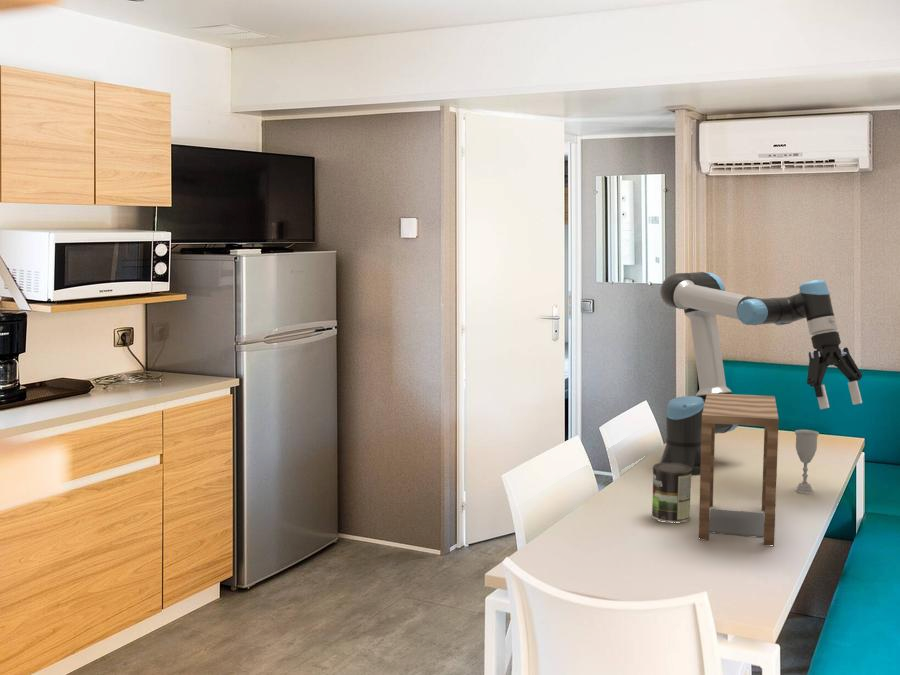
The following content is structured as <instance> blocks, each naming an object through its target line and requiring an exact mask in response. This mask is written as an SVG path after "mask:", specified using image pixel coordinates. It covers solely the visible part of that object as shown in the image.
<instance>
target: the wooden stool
mask: <svg viewBox="0 0 900 675" xmlns="http://www.w3.org/2000/svg"><path fill="white" fill-rule="evenodd" d="M779 420H780V419H779V414H778V408H777V402H776V397H775V395H756V394H733V393H732V394H715V393H707V396H706V400H705V404H704V408H703V412H702V428H701V466H700V474H699V477H700V478H699V479H700V480H699V505H698V506H699V507H698V508H699V514H698V515H699V516H698V539H699V538H700V539H699V540H701V539H710V538H709V537H710V533H709V518H710V510H711V507H714V482H715V481H714V476H715V441H716V440H715V438H716V437H715V436H716V434H715V424H732V425H738V426H752V427H753V426H754V427H764V430H763V458H762V460H763V461H762V488H761V489H762V490H761V491H762V492H761V494H762V495H761V511H763V512H764V538H763V546H764V545H773V546H772V547H775V535H776V534H775V531H776V529H775V528H776V507H777V506H776V504H777V503H776V501H777V500H776V499H777V474H778V473H777V472H778V469H777V468H778V449H779Z"/></svg>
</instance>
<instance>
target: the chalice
mask: <svg viewBox="0 0 900 675" xmlns="http://www.w3.org/2000/svg"><path fill="white" fill-rule="evenodd" d="M794 434H795V436H796V437H795V450H796V453H797V455H798V458H799V460H800V462H801V463H803V468H802V472H803V473H802V474H801V476H802V477H803V480H802V482H799V483H798V484H797V487H796V489H795V492H796V491H797V492H796V493H798V492H799V493H798V494H803V493H805V494H806V495H810V493H812V494H814V493H813V492H814V490H813V487H812V485H811V484H810V483H809V482H808V479H807V478H808V477H809V475H808V470H809V469H808V464H809V463H811V462H812V460H813V458H814V457H815V455H816V452H817V449H818V448H817V447H818V437H819V434H820V433H819V431H815V430H812V429H811V430H810V429H797V430H794ZM805 494H804V495H805Z"/></svg>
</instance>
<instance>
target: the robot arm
mask: <svg viewBox="0 0 900 675" xmlns="http://www.w3.org/2000/svg"><path fill="white" fill-rule="evenodd" d="M798 288H799V292H798V293H796V294H792V295H790V296H787V297H786V296H785V297H771V298H770V297H768V298H759V297H755V296H754V297H753V296H749V295H745V294H739V293H736V292H730V291H726V288H725V285H724V282H723V280H722V279H721V278H720V277H719V276H718V275H716V274H715V273H713V272H704V271H699V272H677V273H673V274H671V275H669V276H668V277H666V278H665V279H664V280H663V281H662V284H661V286H660V292H659V293H660V298H661V300H662V301H663V302H664V304H666V305H667V306H669V307H670V308H675V309H678V310H683V313H684V315H685V316H686V317H687V318H688V319H689V320H690V328H691V335H692V343H693V350H694V359H695V365H696V371H697V372H696V373H697V379H698V380H697V382H698V386H699V387H698V388H699V390H698V391H697V393H695V395H688V396H684V395H683V396H679V397H675V398H673V399H670V400H669V401H668V403H667V407H666V412H665V413H666V414H665V415H666V425H665V426H666V429H665V430H666V435H665V448H664V449H663V452H662V456H661V458H660V462H659V463H680V464H685V465H688V466H690V467H691V468H692V472H691V476H692V475H700V466H701V428H702V412H703V408H704V404H705V400H706V396H707V393H715V394H733V392H732V390H731V389H730V388H729V387H727V383H726V375H725V369H724V362H723V355H722V354H723V353H722V348H721V340H720V334H719V325H718V318H717V316H722V317H726V318H731V319H733V320H739V321H740V322H741V323H742V324H743V325H746V326H759V325H771V324H775V325H777V326H784V325H790V324H792V323H794V322H796V321H800V320H803V319H806V323H807V327H808V332H809V335H811V338H810V339H811V344H812V347H813V349H814V350H812V351H809V352H808V359H809V360H808V361H809V362H808V370H807V377H806V384H807V385H809V386H810V387H811V388H812V387H813V389H814V392H815V393H814V394H815V397H816V398H817V401H818V403H817V404H818V406H819V410H824V409H828V408H830V404H829V403H830V402H829V399H828V395H827V391H826V386H825V384H823V381H824V377H825V375H826V373H827V368H828V367H829V366H834V367H837V369H838V370H839V371H840V372H841V373H842V374H843V375H844V376H845V378H846V379H847V380H848V382H847V385H848V390H849V393H850V394H849V395H850V398H851V402H852V403H851V404H852V405H859V404H863V400H862V395H861V388H860V384H859V381H861V380H862V378H863V374H862V372H861V371H860V369H859V367H858V366H857V364H856V362H855V360H854V359H853V356H852V355H851V353H850V351H849V348H848V347H842V348H840V344H841V343H842V342H841V338H840V332H838V331H837V330H838V325H837V321H836V317H835V314H834V309H833V305H832V304H833V303H832V298H831V294H830V290H829V288H828V284H827V282H826V281H825V280H823V279H814V280H810V281H806V282H804V283H801V284H799V287H798ZM738 426H739V425H732V424H715V435H717V434H726V433H729V432H731V431H732V432H733V431H734V430H735V429H736V428H738Z"/></svg>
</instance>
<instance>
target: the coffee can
mask: <svg viewBox="0 0 900 675" xmlns="http://www.w3.org/2000/svg"><path fill="white" fill-rule="evenodd" d="M691 472H692V468H691V467H690V466H688V465H685V464H680V463H660V462H658V463H655V464H654V465H652V503H651V504H652V508H651V512H652V513H651V518H652V517H653V518H652V519H654V520H655V519H657V520H660V521H659V522H661V521H665V522H673V523H672V524H677V523H676V522H684V523H687V522H689V521H690V519H691V495H692V494H691V491H692V490H691V488H692V475H691ZM657 520H656V521H657ZM688 520H689V521H688ZM686 521H687V522H686ZM665 522H664V523H665ZM674 522H675V523H674Z"/></svg>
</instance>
